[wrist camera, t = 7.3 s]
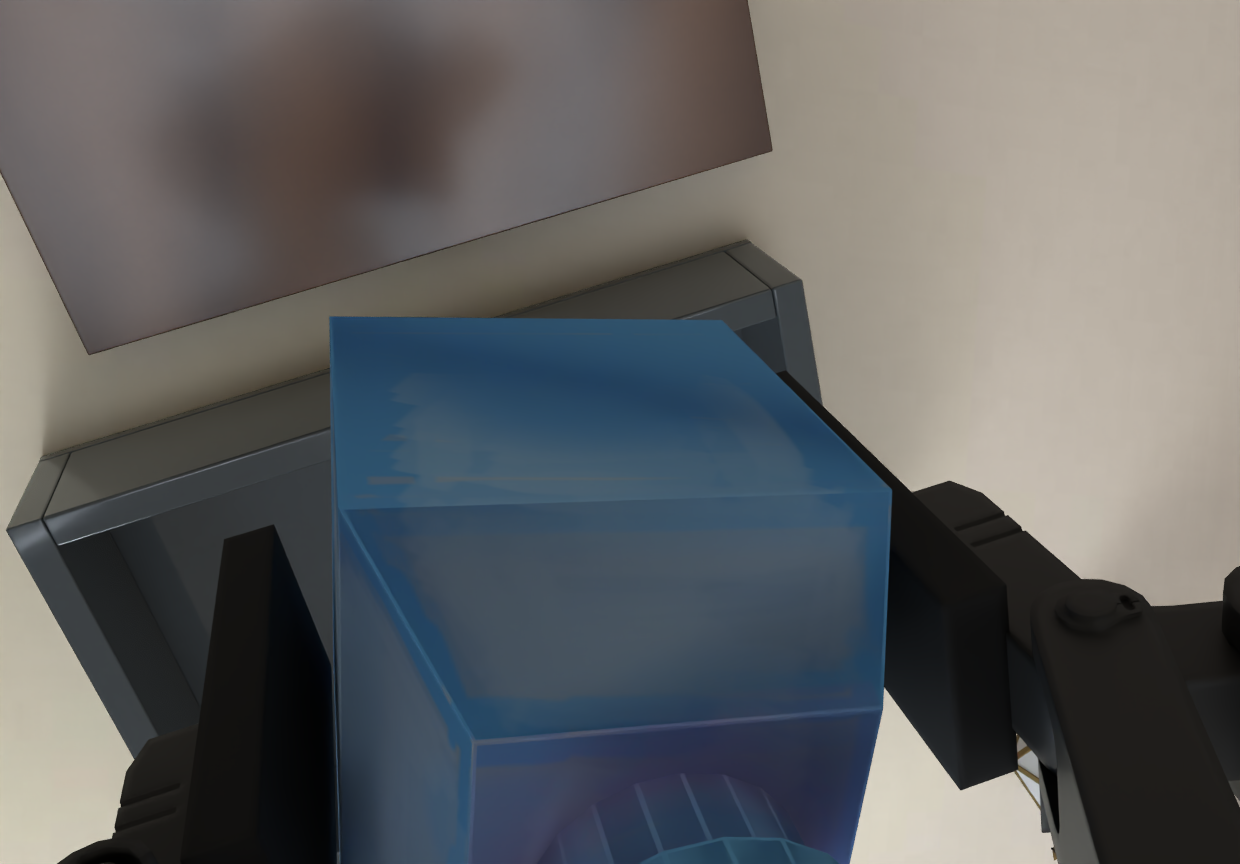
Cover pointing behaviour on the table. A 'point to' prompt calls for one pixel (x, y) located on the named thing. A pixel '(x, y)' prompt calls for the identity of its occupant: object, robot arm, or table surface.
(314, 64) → the board
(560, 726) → the perfume bottle
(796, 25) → the table surface
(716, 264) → the tray
